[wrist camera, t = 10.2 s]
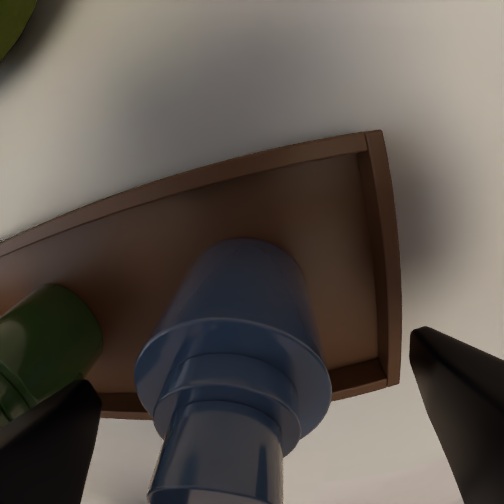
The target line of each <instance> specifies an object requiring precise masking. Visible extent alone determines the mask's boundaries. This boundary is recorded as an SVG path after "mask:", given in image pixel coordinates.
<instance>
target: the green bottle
mask: <svg viewBox="0 0 504 504" xmlns="http://www.w3.org/2000/svg"><path fill="white" fill-rule="evenodd" d="M102 351H103V335H102V331H101V328H100V326H99V323H98V321H97V319H96V318H95V316H94V314H93V313H92V311H91V310H90V309H89V307H88V306H87V305H86V304H85V303H84V302H83V300H81V299H80V298H79V297H78V296H77V295H76V294H74V293H73V292H72V291H70V290H69V289H67V288H65V287H63V286H60V285H57V284H43V285H40V286H39V287H37V288H36V289H34V290H33V291H32V292H30V293H29V294H28V295H26V296H25V297H24V298H23V299H21V300H20V301H19V302H17V303H16V304H15V305H14V306H12V307H11V308H10V309H9V310H7V311H6V312H5V313H4V314H2V315H1V316H0V428H1V427H3V426H4V425H6V424H7V423H9V422H11V421H12V420H14V419H15V418H17V417H18V416H20V415H22V414H23V413H25V412H26V411H28V410H29V409H31V408H33V407H34V406H36V405H37V404H39V403H40V402H42V401H44V400H45V399H47V398H48V397H50V396H51V395H53V394H54V393H56V392H58V391H59V390H61V389H62V388H64V387H65V386H67V385H68V384H70V383H71V382H73V381H75V380H77V379H85V378H86V376H87V375H88V374H89V372H90V371H91V369H92V368H93V366H94V365H95V363H96V362H97V361H98V359H99V358H100V356H101V354H102Z"/></svg>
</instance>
